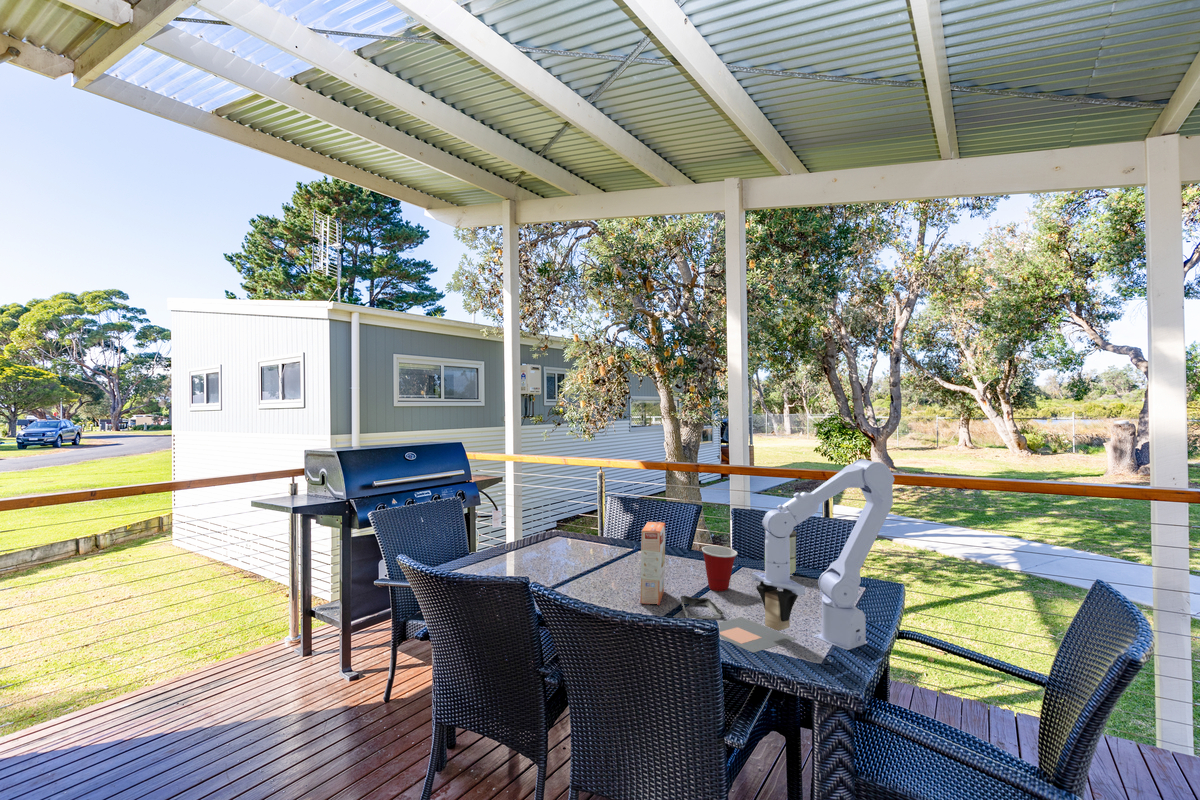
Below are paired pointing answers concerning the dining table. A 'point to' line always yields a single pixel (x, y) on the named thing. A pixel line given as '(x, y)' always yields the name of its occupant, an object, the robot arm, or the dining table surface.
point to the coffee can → (791, 551)
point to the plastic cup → (718, 566)
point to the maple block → (774, 612)
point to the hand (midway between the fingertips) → (777, 617)
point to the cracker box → (652, 563)
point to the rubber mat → (751, 634)
